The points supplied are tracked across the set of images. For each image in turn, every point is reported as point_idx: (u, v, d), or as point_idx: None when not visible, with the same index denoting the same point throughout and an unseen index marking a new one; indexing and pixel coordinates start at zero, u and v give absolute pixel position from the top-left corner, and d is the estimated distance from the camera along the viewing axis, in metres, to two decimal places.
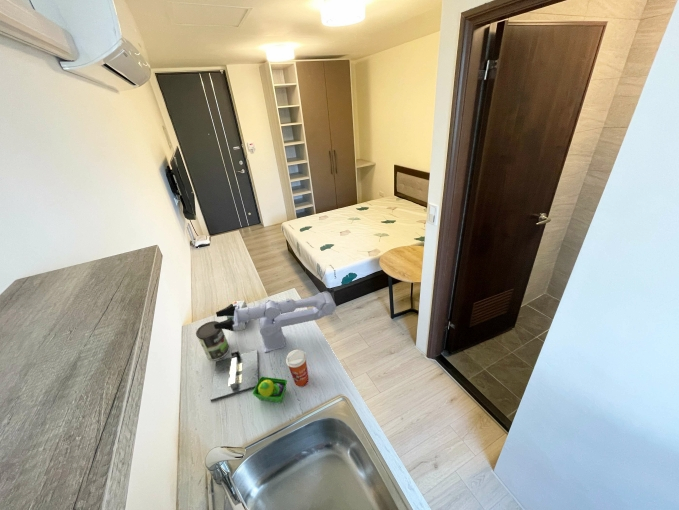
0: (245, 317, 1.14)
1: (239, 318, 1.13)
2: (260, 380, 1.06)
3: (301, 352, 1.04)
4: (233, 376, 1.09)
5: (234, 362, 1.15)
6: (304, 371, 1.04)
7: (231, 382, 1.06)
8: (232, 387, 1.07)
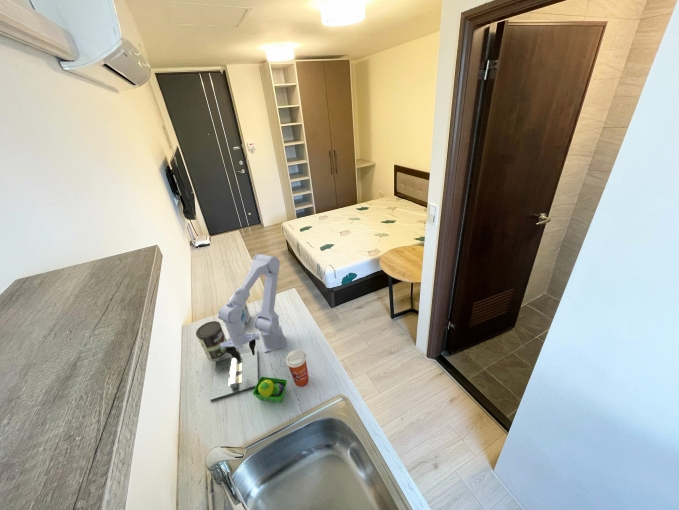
0: (244, 333, 1.06)
1: (246, 337, 1.08)
2: (260, 380, 1.06)
3: (301, 352, 1.04)
4: (233, 376, 1.09)
5: (234, 362, 1.15)
6: (304, 371, 1.04)
7: (231, 382, 1.06)
8: (232, 387, 1.07)
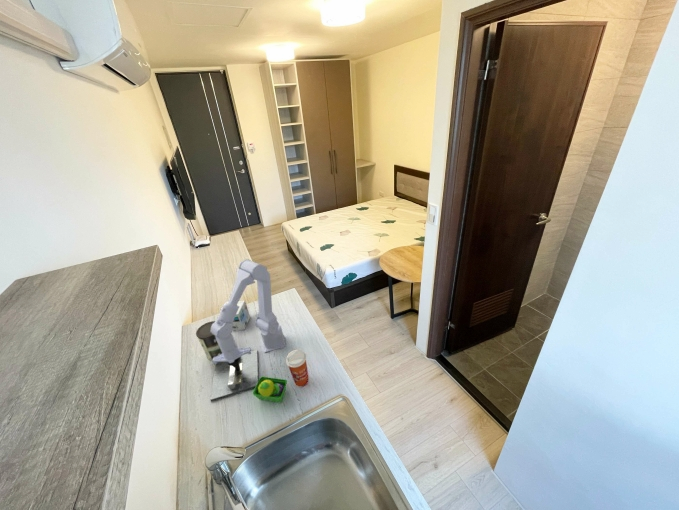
0: (236, 348, 1.08)
1: (238, 352, 1.10)
2: (260, 380, 1.06)
3: (301, 352, 1.04)
4: (232, 376, 1.09)
5: None
6: (304, 371, 1.04)
7: (230, 382, 1.06)
8: (230, 387, 1.07)
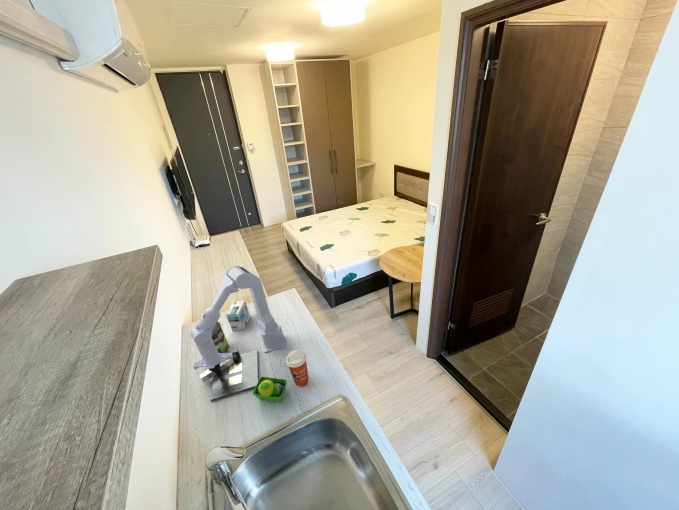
0: (217, 353, 1.07)
1: (219, 357, 1.08)
2: (260, 380, 1.06)
3: (301, 352, 1.04)
4: (208, 371, 1.12)
5: (225, 361, 1.16)
6: (304, 371, 1.04)
7: (201, 375, 1.11)
8: None
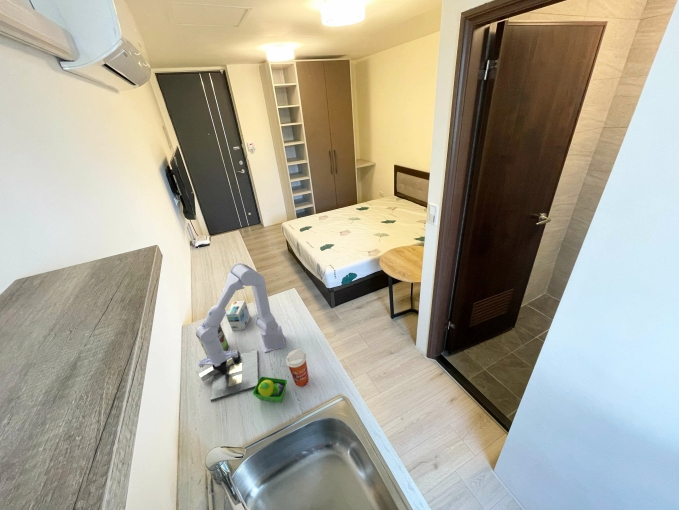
0: (222, 351, 1.07)
1: (224, 355, 1.09)
2: (260, 380, 1.06)
3: (301, 352, 1.04)
4: (208, 371, 1.12)
5: None
6: (304, 371, 1.04)
7: (201, 374, 1.11)
8: (201, 378, 1.12)
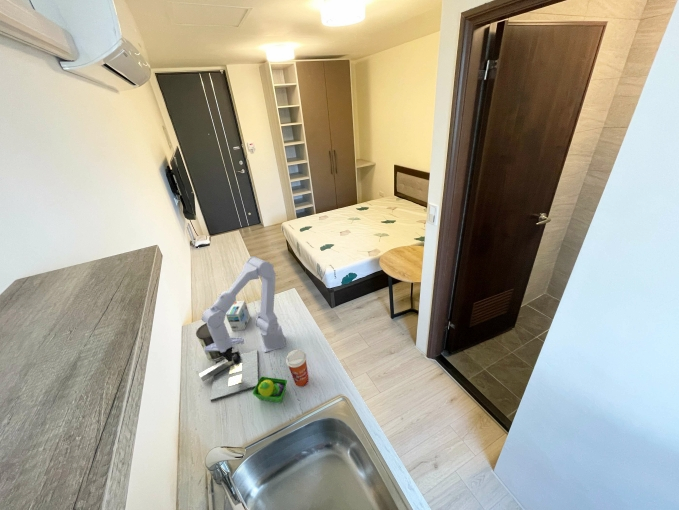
0: (228, 337, 1.05)
1: (230, 341, 1.07)
2: (260, 380, 1.06)
3: (301, 352, 1.04)
4: (208, 371, 1.12)
5: (225, 361, 1.16)
6: (304, 371, 1.04)
7: (201, 374, 1.11)
8: (201, 378, 1.12)
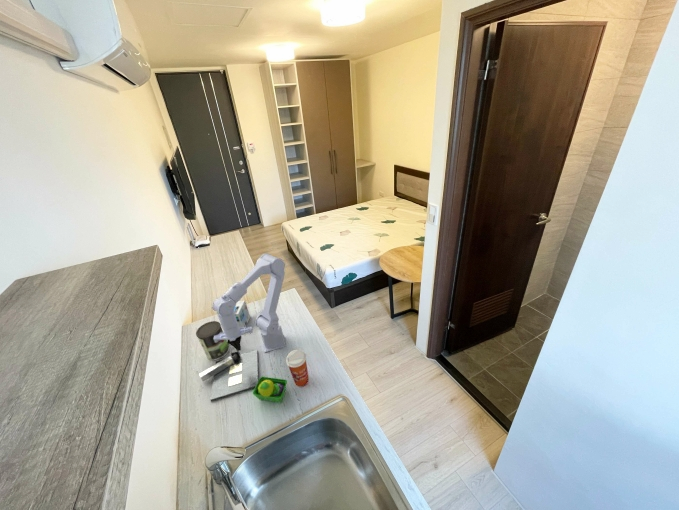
0: (238, 326, 1.07)
1: (239, 331, 1.09)
2: (260, 380, 1.06)
3: (301, 352, 1.04)
4: (208, 371, 1.12)
5: (225, 361, 1.16)
6: (304, 371, 1.04)
7: (201, 374, 1.11)
8: (201, 378, 1.12)
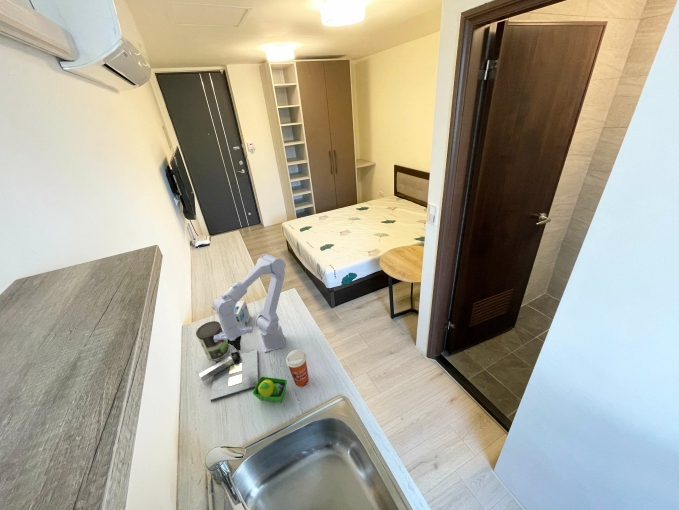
0: (238, 326, 1.07)
1: (239, 330, 1.09)
2: (260, 380, 1.06)
3: (301, 352, 1.04)
4: (208, 371, 1.12)
5: (225, 361, 1.16)
6: (304, 371, 1.04)
7: (201, 374, 1.11)
8: (201, 378, 1.12)
